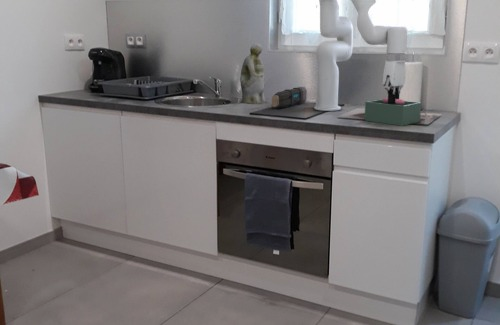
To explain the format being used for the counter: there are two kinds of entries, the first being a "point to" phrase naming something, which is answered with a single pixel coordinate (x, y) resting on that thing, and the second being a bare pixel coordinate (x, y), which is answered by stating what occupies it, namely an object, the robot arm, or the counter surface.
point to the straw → (397, 101)
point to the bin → (392, 112)
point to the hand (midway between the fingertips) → (393, 103)
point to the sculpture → (253, 77)
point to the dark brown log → (289, 97)
